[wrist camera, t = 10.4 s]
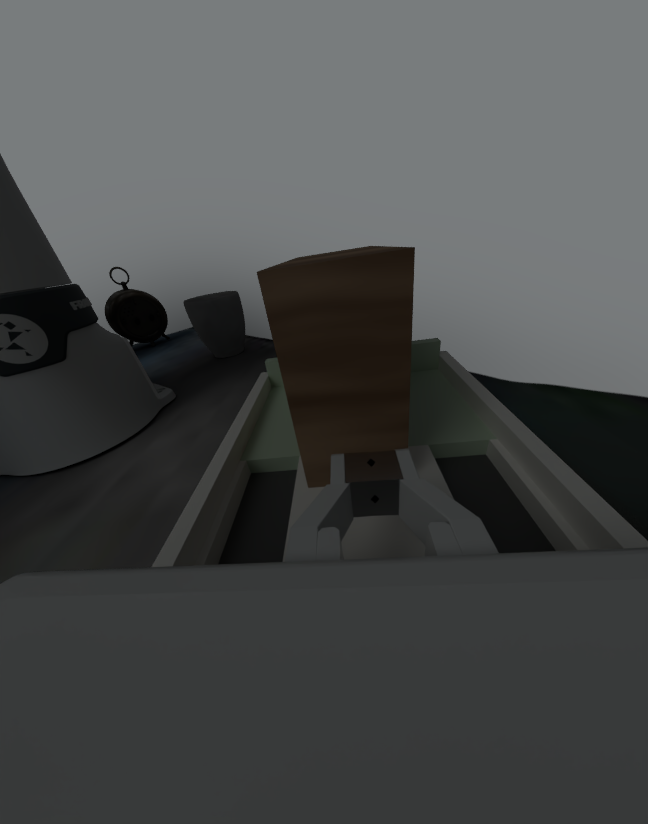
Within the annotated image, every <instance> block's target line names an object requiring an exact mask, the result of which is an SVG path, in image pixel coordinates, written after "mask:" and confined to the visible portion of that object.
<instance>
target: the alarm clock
mask: <svg viewBox="0 0 648 824" xmlns="http://www.w3.org/2000/svg"><path fill="white" fill-rule="evenodd" d="M114 269H121V270H123V271H124V272H125V273H126V274H127V276H128V280H127V282H121V283H117V282H116V281H114V280H113V278H112V276H111V273H112V271H113V270H114ZM109 274H110V278H111V279H112V280H113V281H114V282H115V283H116V284H119V285H122V287H123V290H120V291H117V292H115V293H114V294H112V295H111V296H110V297H109V299H108V300H107V302H106V305H105V316H106V319H107V321H108V323H109V325H110V326H111V328H112V329H113V330H114V331H115V332H116V333H118V334H119V335H121V336H122V337H124V338H126V339H129V340H130V342H129V343H130V345H131V347H132V345H133V342H138V343H148V342H150V343H151V345H152V346H155V343H154V341H155V340H157V339H158V338H160V337H161V336H163V337H165V338H167V339H170V338H169V337H167V336H166V335H165V334H164V332H165V330H166V328H167V322H168V320H167V314H166V311H165V309H164V307H163V306H162V304H161V303H160V302H159V301H158V300H157V299H156V298H155V297H153V296H152V295H150V294H148V293H146V292H143V291H138V290H134V289H128V287H127V286H126V284H127V283H128V282H129V275H128V273H127V272H126V271H125V270H124V269H122V268H120V267H114V268H112V269H111V270H110V273H109Z"/></svg>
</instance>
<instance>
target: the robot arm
mask: <svg viewBox="0 0 648 824" xmlns="http://www.w3.org/2000/svg"><path fill="white" fill-rule="evenodd" d="M70 283H72V282H71V280H70V279H69V277H68V275H67V273H66V272H65V270H64V268H63V266H62V264H61V263H60V261H59V259H58V257H57V256H56V254H55V252H54V251H53V248H52V247H51V245H50V243H49V242H48V240H47V238H46V236H45V234H44V233H43V231H42V229H41V227H40V226H39V224H38V222H37V220H36V219H35V217H34V215H33V213H32V212H31V210H30V208H29V206H28V204H27V203H26V201H25V199H24V198H23V196H22V194H21V192H20V190H19V188H18V187H17V185H16V183H15V181H14V179H13V177H12V176H11V174H10V172H9V170H8V168H7V166H6V164H5V162H4V160H3V158H2V156H1V154H0V475H16V476H24V475H33V474H39V473H44V472H48V471H52V470H56V469H60V468H63V467H66V466H69V465H72V464H75V463H77V462H80V461H83V460H85V459H88V458H90V457H92V456H95V455H97V454H99V453H101V452H103V451H105V450H107V449H109V448H111V447H113V446H115V445H117V444H119V443H121V442H122V441H124V440H126V439H127V438H129V437H131V436H132V435H134V434H135V433H137V432H138V431H139V430H141V429H142V428H143V427H145V426H146V425H147V424H148V423H149V422H150V421H151V420H152V419H153V418H154V417H155V416H156V414H157V413H158V412H159V410H160V409H161V408H162V407H164V406H165V405H166V404H168V403H169V402H171V401H172V400H173V399H174V398H175V397H176V395H175V393H174V392H173V390H172V389H170V388H167V387H164V386H161V385H158V384H155V383H152V382H151V380H150V379H149V377H148V375H147V373H146V372H145V370H144V368H143V366H142V364H141V363H140V361H139V359H138V357H137V356H136V354H135V352H134V350H133V349H132V347H131V345H130V343H129V342H128V340H127V339H126V338H122V337H120V336H119V335H116V334H113V333H110V332H109V331H107V330H105V329H104V328H102V327H101V326H100V325H99V324H98V323H96V322H97V320H98V317H97V315H96V314H95V312H94V310H93V308H92V306H91V305H92V304H91V302H90V301H89V299H88V298H87V297H86V296H85V295H84V293H83V291H82V290H81V288H80V287H79V285H77V284H70ZM65 284H70V285H65ZM59 285H63V286H59ZM52 286H56V287H52ZM46 287H50V288H46ZM40 288H43V289H40ZM34 289H36V290H34ZM27 290H30V291H27ZM21 291H23V292H21ZM15 292H17V293H15ZM8 293H10V294H8ZM2 294H4V295H2ZM385 515H399V517H400V518H401V519H402V520H403V521H404V523H405V524H406V525H407V526H408V527H409V528H410V529H411V530H412V531H413V533H414V534H415V535H416V536H417V537H418V538H419V539H420V540H421V541H422V543H423V544H424V545H425V546H426V547H425V556H421V557H396V558H371V559H346V560H344V558H343V551H342V545H341V541H342V539H343V538H344V536H345V534H346V532H347V530H348V528H349V527H350V525H351V523H352V521H353V519H354V517H367V516H385ZM0 824H648V548H623V549H598V550H572V551H547V552H522V553H499V552H498V551H497V549H496V547H495V545H494V543H493V541H492V539H491V538H490V536H489V534H488V532H487V530H486V528H485V526H484V524H483V523H482V521H481V519H480V518H479V517H477V516H476V515H474V514H473V513H472V512H470V511H469V510H467V509H466V508H465V507H463V506H462V505H461V504H459V503H458V502H456V501H455V500H454V499H452V498H451V497H449V496H448V495H447V494H445V493H444V492H442V491H441V490H440V489H438V488H437V487H435V486H434V485H433V484H431V483H430V482H428V481H427V480H426V479H424V478H419V475H418V472H417V470H416V467H415V464H414V462H413V459H412V456H411V454H410V451H409V449H408V448H406V449H395V450H387V451H375V452H359V453H344V454H332V455H331V478H330V484H328V485H326V486H325V487H324V488H323V490H322V491H321V492H320V493H319V494H318V496H317V497H316V498H315V499H314V500H313V502H312V503H311V504H310V505H309V506H308V508H307V509H306V510H305V511H304V512H303V514H302V515H301V516H300V517H299V518H298V519H297V521H296V522H295V523H294V524H293V525H292V527H291V528H290V533H289V539H288V545H287V551H286V557H285V562H268V563H243V564H218V565H193V566H168V567H143V568H118V569H92V570H65V571H37V572H26V573H22V574H18V575H16V576H13V577H12V578H10V579H8V580H6V581H4V582H3V583H1V584H0Z"/></svg>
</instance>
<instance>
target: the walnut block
mask: <svg viewBox="0 0 648 824" xmlns="http://www.w3.org/2000/svg"><path fill="white" fill-rule="evenodd" d="M414 251H415V248H414V247H383V246H382V247H381V246H368V247H361V248H355V249H349V250H342V251H336V252H330V253H323V254H317V255H311V256H305V257H299V258H295V259H292V260H289V261H287V262H284V263H281V264H278V265H275V266H273V267H270V268H267V269H264V270H261V271H258V272H257V275H258V279H259V284H260V287H261V292H262V296H263V300H264V304H265V308H266V313H267V317H268V321H269V326H270V330H271V333H272V338H273V342H274V347H275V351H276V355H277V359H278V363H279V368H280V372H281V376H282V380H283V384H284V389H285V393H286V397H287V401H288V405H289V410H290V414H291V418H292V422H293V426H294V431H295V435H296V439H297V443H298V447H299V452H300V456H301V460H302V464H303V468H304V473H305V477H306V481H307V485H308V488H314V487H325V486H326V485H328V484H330V478H331V455H332V454H344V453H359V452H375V451H387V450H395V449H406V448H408V437H409V406H410V376H411V345H412V314H413V283H414V254H415V252H414Z"/></svg>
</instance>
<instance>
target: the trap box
mask: <svg viewBox="0 0 648 824" xmlns="http://www.w3.org/2000/svg"><path fill="white" fill-rule="evenodd" d="M440 342H441V341H440V340H439V339H438V338H434V339H426V340H417V341H412V345H411V376H410V406H409V437H408V449H409V451H410V454H411V456H412V459H413V462H414V464H415V467H416V470H417V472H418V475H419V478H424V479H426V480H427V481H428V482H430V483H431V484H433V485H434V486H435V487H437V488H438V489H440V490H441V491H442V492H444V493H445V494H447V495H448V496H449V497H451V498H452V499H454V500H455V501H456V502H458V503H459V504H461V505H462V506H463V507H465V508H466V509H467V510H469V511H470V512H472V513H473V514H474V515H476V516H477V517H479V518H480V519H481V521H482V523H483V524H484V526H485V528H486V530H487V532H488V534H489V536H490V538H491V539H492V541H493V543H494V545H495V547H496V549H497V551H498V552H499V553H522V552H547V551H572V550H598V549H623V548H648V541H647V540H646V539H645V538H644V537H643V536H642V535H641V534H640V533H639V532H638V531H637V530H635V529H634V528H633V527H632V526H631V525H630V524H629V523H628V522H627V521H626V520H625V519H624V518H623V517H622V516H621V515H620V514H618V513H617V512H616V511H615V510H614V509H613V508H612V507H611V506H610V505H609V504H608V503H607V502H606V501H605V500H604V499H603V498H602V497H600V496H599V495H598V494H597V493H596V492H595V491H594V490H593V489H592V488H591V487H590V486H589V485H588V484H587V483H586V482H585V481H583V480H582V479H581V478H580V477H579V476H578V475H577V474H576V473H575V472H574V471H573V470H572V469H571V468H570V467H569V466H568V465H567V464H565V463H564V462H563V461H562V460H561V459H560V458H559V457H558V456H557V455H556V454H555V453H554V452H553V451H552V450H551V449H550V448H548V447H547V446H546V445H545V444H544V443H543V442H542V441H541V440H540V439H539V438H538V437H537V436H536V435H535V434H534V433H533V432H532V431H530V430H529V429H528V428H527V427H526V426H525V425H524V424H523V423H522V422H521V421H520V420H519V419H518V418H517V417H516V416H515V415H514V414H512V413H511V412H510V411H509V410H508V409H507V408H506V407H505V406H504V405H503V404H502V403H501V402H500V401H499V400H498V399H497V398H495V397H494V396H493V395H492V394H491V393H490V392H489V391H488V390H487V389H486V388H485V387H484V386H483V385H482V384H481V383H480V382H479V381H477V380H476V379H475V378H474V377H473V376H472V375H471V374H470V373H469V372H468V371H467V370H466V369H465V368H464V367H462V366H461V365H460V364H459V363H458V362H457V361H456V360H455V359H454V358H453V357H452V356H451V355H450V354H449V353H448V352H447V351H441V352H440ZM265 365H266V369H267V372H263V373H261V374H260V376H259V378H258V380H257V381H256V383H255V385H254V387H253V388H252V390H251V392H250V394H249V395H248V397H247V399H246V401H245V402H244V404H243V406H242V408H241V410H240V411H239V413H238V415H237V417H236V418H235V420H234V422H233V424H232V425H231V427H230V429H229V431H228V433H227V434H226V436H225V438H224V440H223V441H222V443H221V445H220V447H219V448H218V450H217V452H216V454H215V456H214V457H213V459H212V461H211V463H210V464H209V466H208V468H207V470H206V471H205V473H204V475H203V477H202V479H201V480H200V482H199V484H198V486H197V487H196V489H195V491H194V493H193V494H192V496H191V498H190V500H189V502H188V503H187V505H186V507H185V509H184V510H183V512H182V514H181V516H180V517H179V519H178V521H177V523H176V525H175V526H174V528H173V530H172V532H171V533H170V535H169V537H168V539H167V540H166V542H165V544H164V546H163V548H162V549H161V551H160V553H159V555H158V556H157V558H156V560H155V562H154V563H153V565H152V567H168V566H193V565H218V564H243V563H268V562H285V557H286V551H287V545H288V539H289V533H290V528H291V527H292V525H293V524H294V523H295V522H296V521H297V519H298V518H299V517H300V516H301V515H302V514H303V512H304V511H305V510H306V509H307V508H308V506H309V505H310V504H311V503H312V502H313V500H314V499H315V498H316V497H317V496H318V494H319V493H320V492H321V491H322V490H323V488H324V487H314V488H308V485H307V481H306V477H305V473H304V468H303V464H302V460H301V456H300V452H299V447H298V443H297V439H296V435H295V431H294V426H293V422H292V418H291V414H290V410H289V405H288V401H287V397H286V393H285V389H284V384H283V380H282V376H281V372H280V368H279V363H278V359H277V358H270V359H266V361H265ZM341 545H342V551H343V558H344V560H346V559H371V558H396V557H421V556H425V547H426V546H425V545H424V544H423V543H422V541H421V540H420V539H419V538H418V537H417V536H416V535H415V534H414V533H413V531H412V530H411V529H410V528H409V527H408V526H407V525H406V524H405V523H404V521H403V520H402V519H401V518H400V517H399V515H385V516H367V517H354V519H353V521H352V523H351V525H350V527H349V528H348V530H347V532H346V534H345V536H344V538H343V539H342V541H341Z"/></svg>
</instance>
